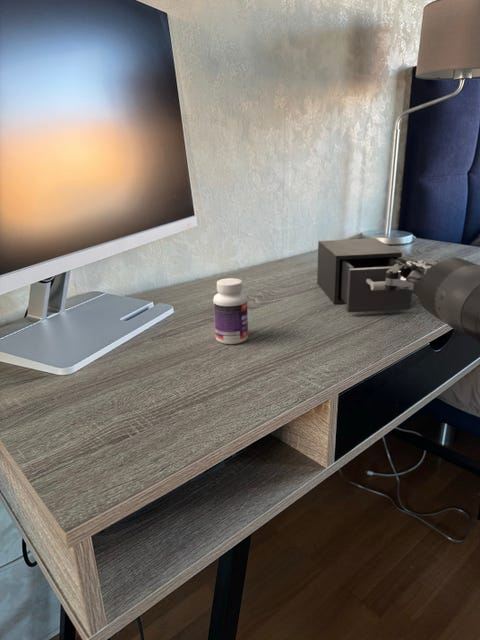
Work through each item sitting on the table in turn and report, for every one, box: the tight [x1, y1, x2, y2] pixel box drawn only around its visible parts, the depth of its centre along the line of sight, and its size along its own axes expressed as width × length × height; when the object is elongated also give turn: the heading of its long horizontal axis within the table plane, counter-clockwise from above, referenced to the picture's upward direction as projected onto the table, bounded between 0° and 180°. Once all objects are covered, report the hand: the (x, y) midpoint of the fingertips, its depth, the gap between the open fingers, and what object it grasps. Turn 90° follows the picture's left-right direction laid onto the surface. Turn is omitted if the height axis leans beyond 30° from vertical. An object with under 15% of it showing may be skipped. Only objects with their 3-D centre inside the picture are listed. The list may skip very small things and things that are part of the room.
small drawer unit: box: [316, 237, 403, 305], centre depth 92 cm, size 15×13×10 cm
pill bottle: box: [212, 277, 249, 345], centre depth 71 cm, size 5×5×10 cm
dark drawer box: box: [339, 257, 413, 313], centre depth 83 cm, size 18×11×8 cm, turn 4°
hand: (402, 263), depth 67 cm, fingers closed
